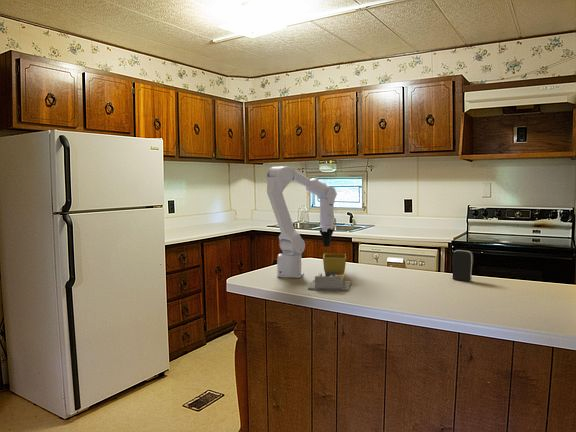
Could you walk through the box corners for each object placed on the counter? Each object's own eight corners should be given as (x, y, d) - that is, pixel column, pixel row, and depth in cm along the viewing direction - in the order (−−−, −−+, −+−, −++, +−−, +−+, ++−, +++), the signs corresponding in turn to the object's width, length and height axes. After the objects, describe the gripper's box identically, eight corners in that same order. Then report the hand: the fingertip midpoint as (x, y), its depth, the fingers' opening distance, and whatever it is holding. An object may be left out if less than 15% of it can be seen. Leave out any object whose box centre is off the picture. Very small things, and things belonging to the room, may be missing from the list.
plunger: (320, 286, 159) (320, 275, 159) (324, 280, 169) (324, 269, 169) (344, 287, 157) (344, 276, 157) (346, 281, 167) (346, 270, 167)
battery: (473, 280, 169) (474, 250, 168) (470, 282, 166) (471, 251, 165) (455, 277, 173) (455, 248, 172) (451, 279, 170) (452, 250, 169)
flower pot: (346, 281, 170) (346, 257, 169) (322, 280, 171) (322, 257, 170) (345, 276, 178) (345, 253, 178) (323, 275, 179) (323, 253, 179)
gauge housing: (307, 289, 157) (307, 276, 157) (313, 281, 169) (313, 269, 169) (347, 291, 154) (347, 278, 154) (350, 283, 166) (350, 270, 166)
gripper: (334, 216, 181) (334, 249, 182) (338, 213, 195) (338, 244, 196) (316, 216, 182) (317, 249, 184) (322, 213, 197) (322, 243, 198)
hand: (326, 246), depth 190 cm, fingers closed
